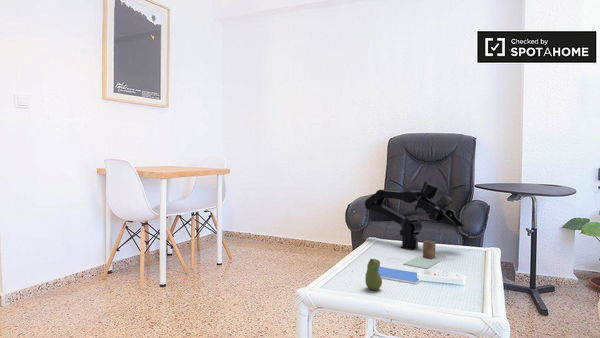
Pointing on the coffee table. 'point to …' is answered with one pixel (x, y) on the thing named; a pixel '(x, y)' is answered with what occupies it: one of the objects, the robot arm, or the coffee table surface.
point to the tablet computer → (398, 275)
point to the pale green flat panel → (421, 262)
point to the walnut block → (429, 249)
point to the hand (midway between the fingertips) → (458, 225)
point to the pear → (373, 275)
